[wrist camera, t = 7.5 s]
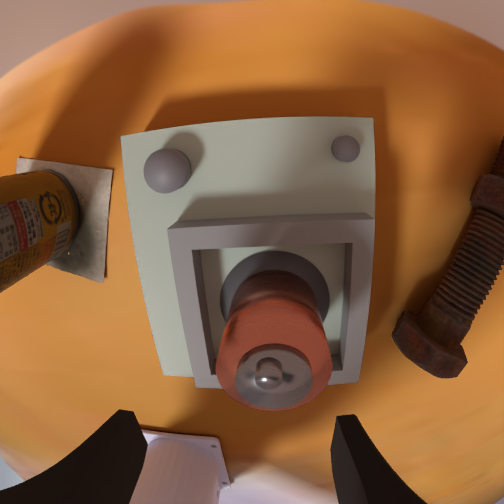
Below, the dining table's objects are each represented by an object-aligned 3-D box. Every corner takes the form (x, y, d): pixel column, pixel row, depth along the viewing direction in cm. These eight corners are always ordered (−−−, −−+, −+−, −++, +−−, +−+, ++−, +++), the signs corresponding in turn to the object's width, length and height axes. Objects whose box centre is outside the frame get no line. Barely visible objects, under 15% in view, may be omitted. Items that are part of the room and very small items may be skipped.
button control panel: (352, 348, 19) (365, 387, 16) (173, 352, 20) (156, 390, 17) (359, 121, 15) (384, 114, 11) (140, 137, 16) (106, 135, 12)
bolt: (497, 148, 16) (409, 328, 20) (477, 110, 14) (374, 327, 18) (562, 177, 12) (463, 377, 16) (559, 138, 9) (439, 388, 13)
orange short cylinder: (323, 335, 16) (342, 422, 10) (244, 351, 17) (231, 439, 11) (308, 260, 15) (329, 332, 9) (220, 280, 16) (191, 357, 10)
